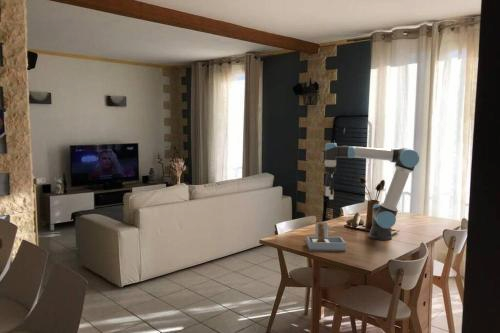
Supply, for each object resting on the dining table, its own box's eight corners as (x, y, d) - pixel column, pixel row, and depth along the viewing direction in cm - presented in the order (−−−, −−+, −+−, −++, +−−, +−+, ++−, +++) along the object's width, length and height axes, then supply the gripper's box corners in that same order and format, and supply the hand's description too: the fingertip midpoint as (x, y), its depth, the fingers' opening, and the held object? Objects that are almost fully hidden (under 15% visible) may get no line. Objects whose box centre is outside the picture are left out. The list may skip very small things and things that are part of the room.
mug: (320, 241, 265) (321, 225, 264) (312, 238, 272) (312, 222, 272) (334, 239, 272) (334, 223, 271) (325, 236, 279) (326, 221, 278)
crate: (340, 244, 259) (340, 237, 259) (345, 251, 245) (345, 243, 245) (306, 244, 259) (306, 236, 259) (309, 250, 245) (309, 242, 245)
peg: (323, 244, 254) (324, 223, 253) (324, 246, 250) (325, 224, 249) (317, 244, 254) (317, 223, 253) (318, 246, 250) (318, 224, 249)
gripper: (321, 164, 279) (320, 194, 281) (328, 167, 254) (327, 200, 256) (332, 164, 279) (331, 194, 281) (339, 167, 254) (338, 200, 256)
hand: (329, 197), depth 269 cm, fingers open, 13 cm apart
